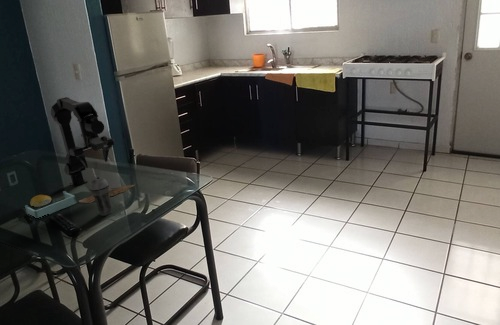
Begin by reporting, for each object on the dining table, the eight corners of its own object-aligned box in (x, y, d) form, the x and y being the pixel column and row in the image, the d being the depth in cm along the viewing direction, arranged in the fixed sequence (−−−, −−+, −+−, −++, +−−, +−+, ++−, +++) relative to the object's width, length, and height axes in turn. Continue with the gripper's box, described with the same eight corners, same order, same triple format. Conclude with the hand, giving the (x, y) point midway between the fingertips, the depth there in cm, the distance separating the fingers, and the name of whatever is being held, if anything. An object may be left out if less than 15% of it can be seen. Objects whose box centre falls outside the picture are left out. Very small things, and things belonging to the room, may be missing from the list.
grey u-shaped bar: (27, 214, 176) (24, 205, 175) (67, 198, 188) (64, 190, 187) (36, 219, 169) (33, 210, 168) (77, 203, 182) (74, 194, 180)
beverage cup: (118, 209, 169) (107, 164, 163) (107, 217, 163) (95, 170, 156) (104, 208, 172) (93, 164, 165) (93, 216, 165) (80, 170, 159)
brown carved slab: (80, 206, 178) (80, 204, 177) (76, 199, 187) (76, 197, 186) (138, 189, 190) (138, 187, 189) (131, 183, 199) (131, 181, 198)
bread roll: (43, 198, 192) (41, 191, 191) (54, 201, 187) (52, 193, 186) (27, 206, 186) (24, 198, 184) (37, 209, 181) (35, 200, 180)
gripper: (75, 139, 167) (84, 174, 172) (116, 127, 179) (124, 161, 184) (64, 136, 175) (73, 170, 180) (104, 125, 187) (112, 157, 192)
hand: (96, 164), depth 184 cm, fingers open, 9 cm apart
